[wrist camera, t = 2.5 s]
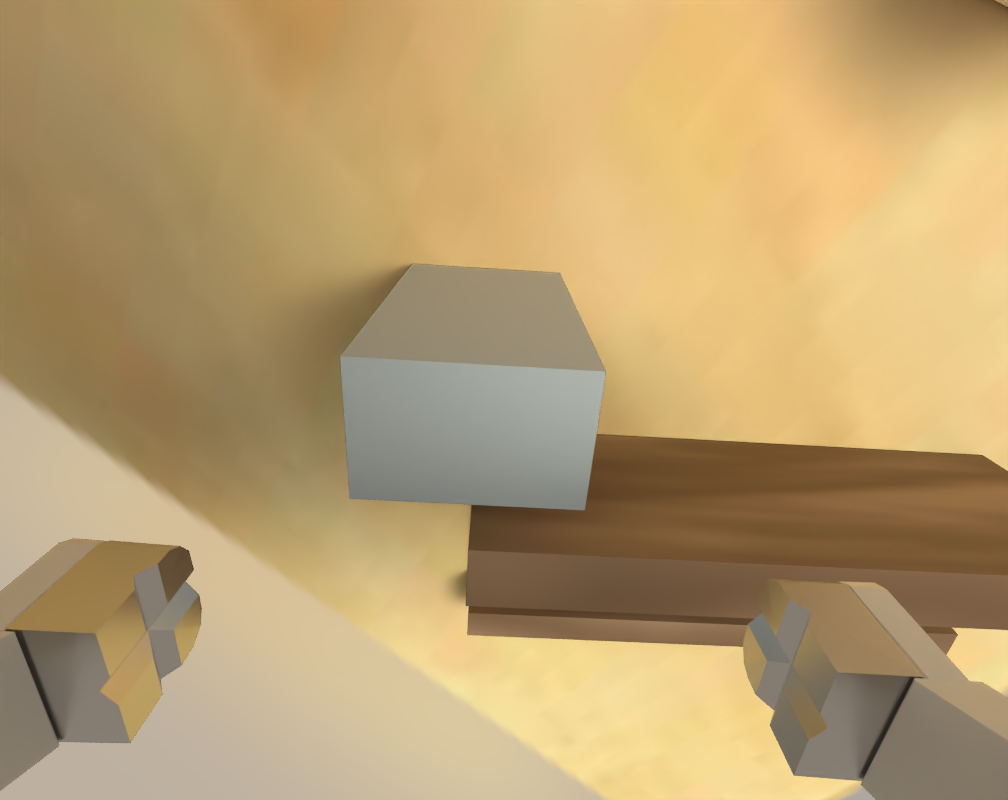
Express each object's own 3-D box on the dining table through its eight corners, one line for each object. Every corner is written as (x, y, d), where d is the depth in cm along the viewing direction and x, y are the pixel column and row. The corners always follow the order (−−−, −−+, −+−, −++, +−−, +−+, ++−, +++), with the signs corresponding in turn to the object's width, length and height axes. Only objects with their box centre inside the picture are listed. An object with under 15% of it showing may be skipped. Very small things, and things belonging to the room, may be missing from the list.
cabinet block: (412, 263, 18) (340, 356, 10) (559, 272, 18) (605, 372, 10) (413, 370, 20) (351, 525, 12) (548, 378, 20) (580, 536, 12)
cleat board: (478, 428, 21) (468, 550, 15) (982, 455, 21) (1184, 583, 15) (470, 589, 24) (459, 745, 18) (905, 609, 25) (1043, 766, 19)
